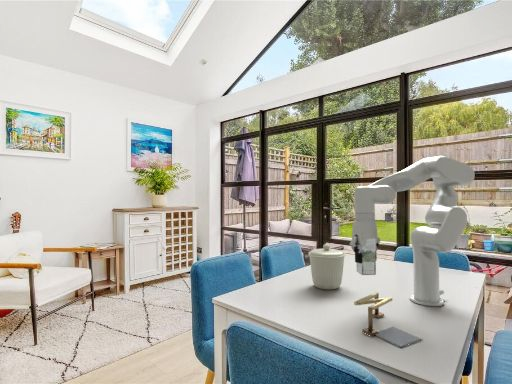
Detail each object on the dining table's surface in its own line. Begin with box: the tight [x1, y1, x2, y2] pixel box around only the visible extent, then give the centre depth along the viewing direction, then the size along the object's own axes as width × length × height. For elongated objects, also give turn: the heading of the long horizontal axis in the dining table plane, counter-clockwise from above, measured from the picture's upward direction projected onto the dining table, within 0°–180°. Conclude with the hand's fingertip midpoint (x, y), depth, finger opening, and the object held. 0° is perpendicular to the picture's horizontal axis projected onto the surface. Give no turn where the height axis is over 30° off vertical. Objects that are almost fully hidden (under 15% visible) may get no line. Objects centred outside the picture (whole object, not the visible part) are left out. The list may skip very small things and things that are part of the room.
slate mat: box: [375, 326, 422, 348], centre depth 97 cm, size 10×10×1 cm
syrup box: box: [356, 238, 377, 276], centre depth 122 cm, size 6×6×14 cm
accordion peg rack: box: [353, 291, 393, 337], centre depth 108 cm, size 18×13×8 cm
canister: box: [307, 243, 347, 291], centre depth 152 cm, size 18×18×21 cm
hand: (365, 261), depth 122 cm, fingers closed on syrup box, 7 cm apart
